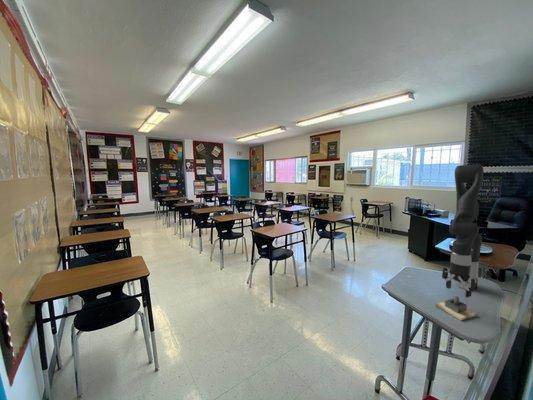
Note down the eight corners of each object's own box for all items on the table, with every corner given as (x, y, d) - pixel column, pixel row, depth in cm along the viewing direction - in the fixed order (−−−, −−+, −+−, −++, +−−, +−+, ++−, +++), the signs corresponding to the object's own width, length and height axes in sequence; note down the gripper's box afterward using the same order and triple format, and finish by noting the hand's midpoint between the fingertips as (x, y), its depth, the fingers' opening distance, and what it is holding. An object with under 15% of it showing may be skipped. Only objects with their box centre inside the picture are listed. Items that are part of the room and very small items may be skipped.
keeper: (450, 301, 122) (451, 289, 121) (476, 315, 110) (478, 301, 109) (435, 305, 118) (436, 293, 117) (460, 320, 107) (462, 306, 106)
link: (453, 303, 118) (453, 298, 117) (466, 310, 112) (467, 304, 112) (445, 306, 116) (445, 300, 116) (457, 313, 110) (458, 307, 110)
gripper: (483, 266, 105) (479, 298, 107) (450, 255, 118) (448, 283, 121) (472, 269, 103) (469, 302, 105) (440, 257, 116) (437, 286, 119)
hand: (457, 292), depth 113 cm, fingers open, 8 cm apart
